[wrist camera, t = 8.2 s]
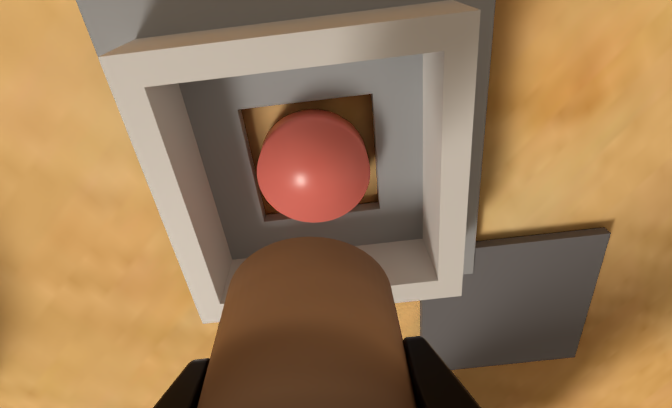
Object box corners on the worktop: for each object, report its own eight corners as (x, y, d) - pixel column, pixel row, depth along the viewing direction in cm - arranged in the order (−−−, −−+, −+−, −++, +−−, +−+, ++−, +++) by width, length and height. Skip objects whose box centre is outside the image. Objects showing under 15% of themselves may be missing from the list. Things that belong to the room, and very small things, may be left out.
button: (369, 199, 18) (373, 216, 17) (271, 210, 19) (268, 228, 17) (362, 102, 16) (365, 115, 15) (250, 116, 16) (245, 129, 15)
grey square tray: (469, 265, 21) (494, 317, 18) (198, 295, 21) (178, 351, 18) (493, -58, 14) (541, -60, 11) (83, -6, 14) (20, 6, 11)
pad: (570, 350, 25) (574, 357, 24) (420, 365, 25) (422, 373, 25) (604, 227, 20) (610, 233, 20) (419, 247, 20) (422, 254, 20)
